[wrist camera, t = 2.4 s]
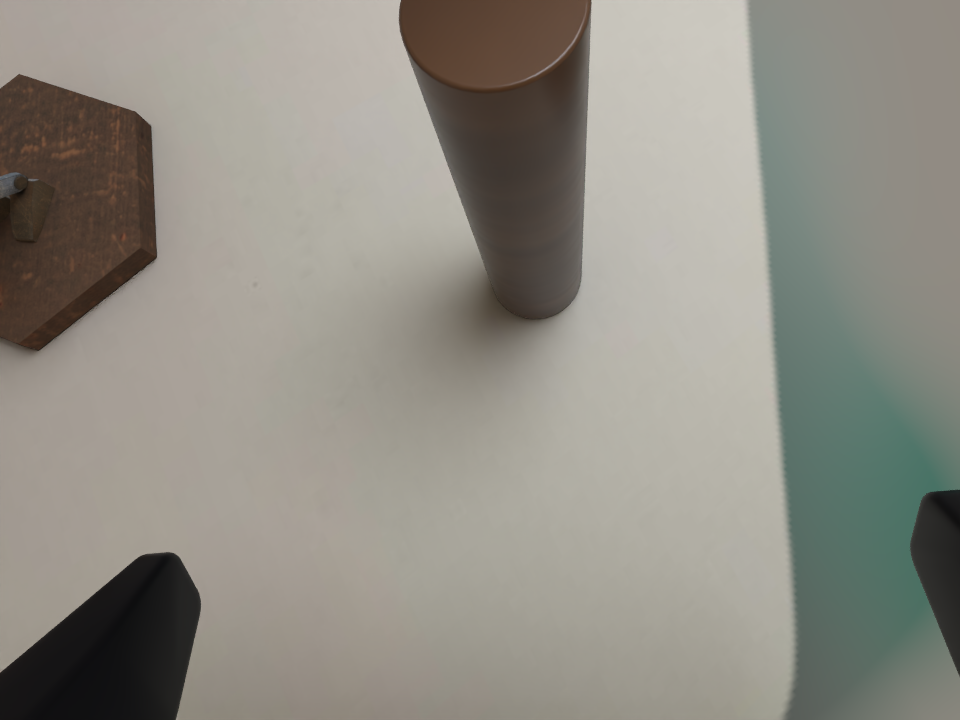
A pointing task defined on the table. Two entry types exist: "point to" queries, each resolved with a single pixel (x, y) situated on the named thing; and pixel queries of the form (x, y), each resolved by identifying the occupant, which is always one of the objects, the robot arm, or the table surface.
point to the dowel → (511, 133)
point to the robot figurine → (68, 206)
